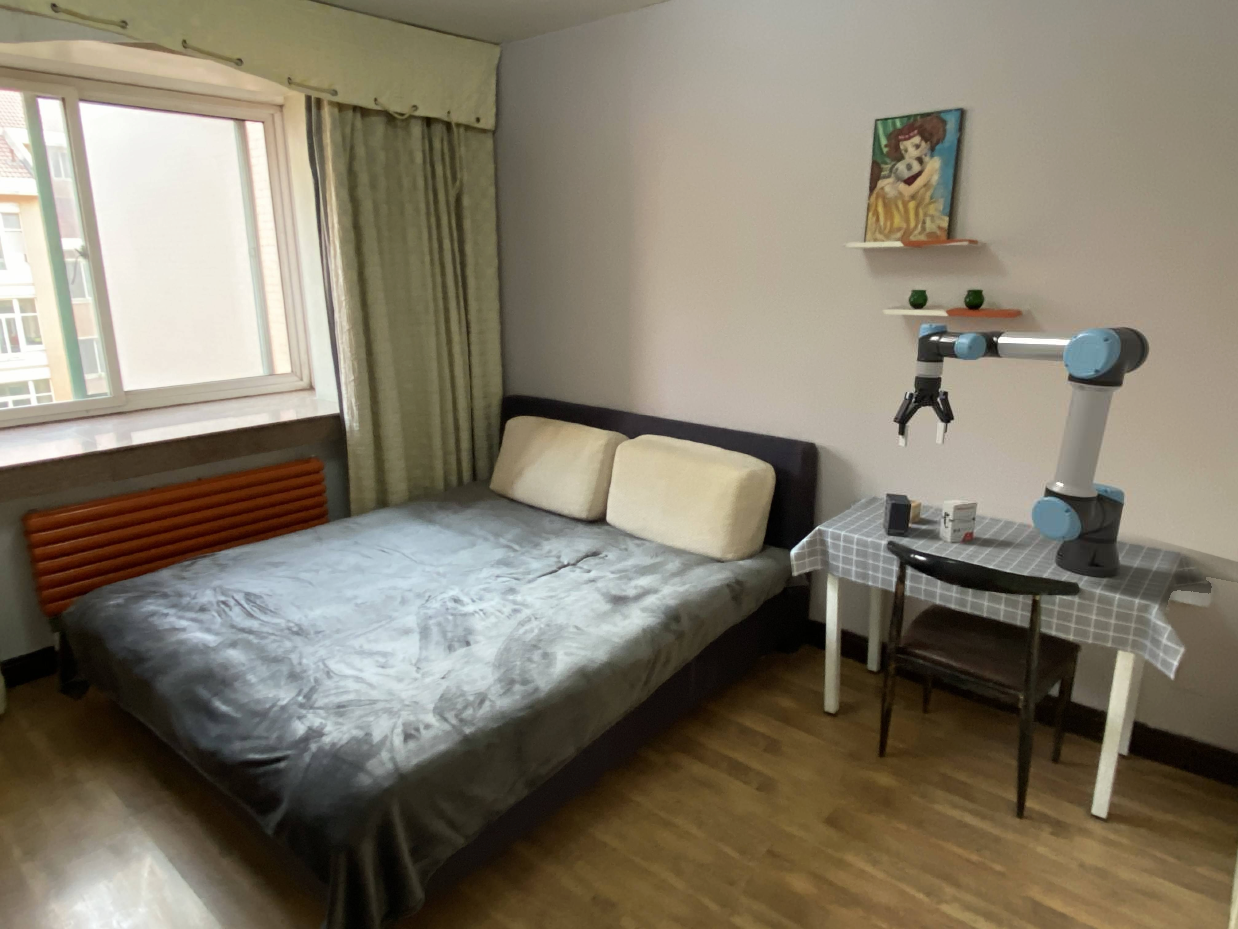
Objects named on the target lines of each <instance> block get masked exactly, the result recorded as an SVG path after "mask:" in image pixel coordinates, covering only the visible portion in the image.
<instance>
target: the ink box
mask: <svg viewBox="0 0 1238 929" xmlns="http://www.w3.org/2000/svg"><path fill="white" fill-rule="evenodd" d="M977 507H978V502H977V501H973V500H969V499H968V498H963V499H953V500H952V499H951V500H944V501H943V503H942V511H941V520H940V529H939V538H940V539H941V540H942V541H943V540H944V541H946V542H948V543H958V542H966V541H972V540H973V539H974V531H975V524H976V517H977Z"/></svg>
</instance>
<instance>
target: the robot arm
mask: <svg viewBox="0 0 1238 929" xmlns="http://www.w3.org/2000/svg"><path fill="white" fill-rule="evenodd" d="M918 335H919V336H918V345H917V356H916V364H915V374H916V375H915V377H914V382H913V386H914V392H909V391H906V392H905V393H904V397H903V398H904V399H903V400H902V403H901V404H900V406H899V408H898V410H897V412H896V413H895V416H894V417H893V420H892V421H893V423H896V424H898V430H897V432H898V433H897V434H898V436H899V439H898V446H901V447H904V448H907V446H908V436H909V435H908V434H909V428H910V427H909V425H908V423H909V422H910V420H911V419H912V418H913V417H914V415H915V414H916V413H917V412H918V410H920V409H921V408H923V407H924V408H925V407H931V408H932V409H933V411H934V412H935V414H936V416H937V417H938V419H939V421H938V422H937V427H936V429H937V430H936V439H935V443H936V444H940V445H944V444H945V438H946V437H945V436H946V433H947V432H948V425H949V424H951V423H952V421H954V420H955V416H954V414H953V410H952V406H951V403H950V401H949V400H950V399H949V391H947V390H943V389H942V390H941V386H942V380H943V379H942V377H941V376H942V375H943V371H944V370H943V369H944V360H945V358H949V359H956V360H957V359H958V360H963V361H976V360H979V359H980V358H997V359H1005V358H1006V359H1015V360H1016V359H1017V360H1018V359H1019V360H1031V361H1032V360H1034V361H1051V362H1063V365H1064V366H1065V367H1066V371H1067V372H1068V376H1067V382H1068V384H1069V385H1070V386H1071V389H1072V391H1071V396H1070V402H1069V405H1068V410H1067V416H1066V421H1065V426H1064V430H1063V435H1062V440H1061V444H1060V449H1059V454H1058V457H1057V458H1058V459H1057V464H1056V467H1055V468H1056V469H1055V473H1054V478H1053V479H1052V480H1050V481H1049V482H1046V485H1045V489H1044V494H1043V497H1041V498H1040V499H1039V500H1037V501H1036V502H1035V503H1034V505H1033V506H1032V510H1031V520H1032V524H1033V526H1034V527H1035V528H1036V530H1037V531H1038V532H1039V533H1040V534H1041V535H1042V536H1043V537H1045V538H1046V539H1048V540H1050V541H1055V542H1061V544H1060V546H1059V547H1058V549H1057V550H1056V553H1055V557H1054V563H1055V564H1056V565H1057V566H1058V567H1060V568H1062V569H1063V570H1065V571H1066V570H1067V571H1070V572H1072V573H1076V574H1079V575H1080V574H1081V575H1084V576H1091V577H1101V578H1102V577H1104V578H1105V577H1106V578H1108V576H1110V577H1115V576H1117V575H1119V574H1120V571H1121V570H1120V569H1121V559H1120V557H1119V556H1120V555H1119V551H1118V546H1117V541H1118V537H1119V536H1118V535H1119V531H1120V525H1121V520H1122V514H1123V511H1124V505H1125V502H1124V501H1125V492H1124V491H1123V490H1122V489H1120V488H1118V487H1115V486H1112V485H1111V486H1110V485H1107V484H1101V483H1095V482H1094V481H1095V474H1096V471H1097V466H1098V463H1099V458H1100V457H1099V456H1100V452H1101V448H1102V444H1103V439H1104V435H1105V430H1106V426H1107V422H1108V416H1109V412H1110V408H1111V403H1112V399H1113V396H1114V395H1113V394H1114V392H1116V391H1118V390H1119V389H1121V388H1122V387H1123V383H1124V380H1125V375H1126V374H1130V373H1132V372H1135V371H1137V370H1138V369H1139V368H1141V366H1143V364H1144V363H1145V362H1146V361H1147V359H1148V357H1149V353H1150V344H1149V341H1148V339H1147V338H1146V336H1145V335H1144V334H1143V333H1142V332H1140V331H1139V330H1137V329H1135V328H1132V327H1125V326H1122V327H1121V326H1120V327H1094V328H1089V329H1086V330H1082V331H1080V332H1078V333H1075V332H1074V333H1071V332H1068V333H1067V332H1038V331H1037V332H1033V331H1032V332H1031V331H1030V332H1026V331H1024V332H1023V331H1001V330H991V331H972V332H971V331H967V332H961V331H960V332H958V331H948V325H947V324H945V323H923V324H922V325H921V326H920V329H919V334H918ZM938 399H939V400H938ZM939 401H940V402H939Z"/></svg>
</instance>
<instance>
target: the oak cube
mask: <svg viewBox="0 0 1238 929" xmlns="http://www.w3.org/2000/svg"><path fill="white" fill-rule="evenodd" d="M909 501H910V503H911V512H910V521H909V525H910V524H914V523H916V522H918V521H920V519H921V518H920V517H921V511H922V510H921V508H922V501H917V500H912V499H909Z"/></svg>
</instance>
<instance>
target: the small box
mask: <svg viewBox="0 0 1238 929" xmlns="http://www.w3.org/2000/svg"><path fill="white" fill-rule="evenodd" d="M909 500H910V499H909V498H908V496H907V494H897V493H886V494H885V504H884V512H883V521H882V526H883V528H884V531H885V534H886V535H887V536H898V537H899V536H900V537H908V535H909V529H910V523H909V521H910V512H911V503H910V501H909Z"/></svg>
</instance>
